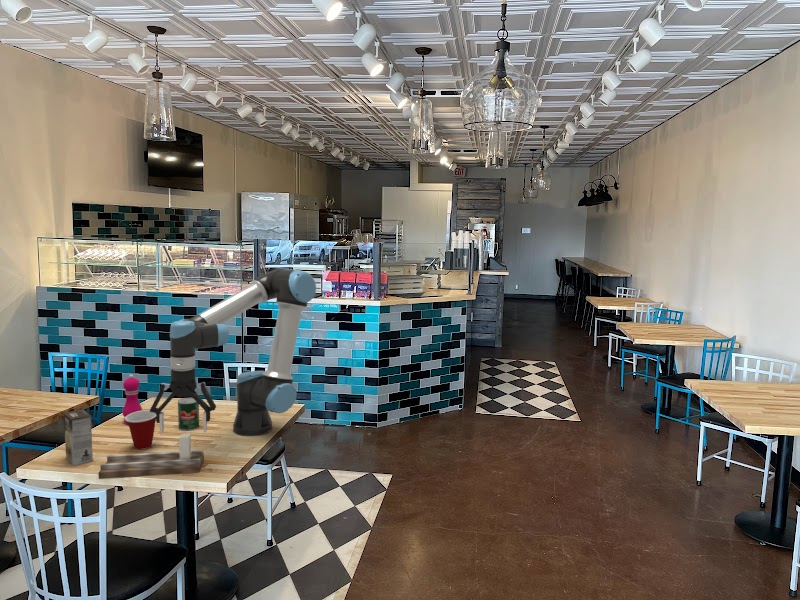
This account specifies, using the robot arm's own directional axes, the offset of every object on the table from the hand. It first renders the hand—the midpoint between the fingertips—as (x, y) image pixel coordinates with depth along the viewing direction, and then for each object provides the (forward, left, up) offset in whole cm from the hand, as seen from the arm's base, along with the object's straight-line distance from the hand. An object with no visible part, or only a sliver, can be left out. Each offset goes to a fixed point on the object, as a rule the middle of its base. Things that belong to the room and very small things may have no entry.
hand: (183, 431), depth 189 cm
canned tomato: (+5, -39, -12) cm, 41 cm away
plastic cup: (+18, -20, -12) cm, 30 cm away
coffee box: (+36, -11, -12) cm, 39 cm away
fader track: (+10, 0, -12) cm, 15 cm away
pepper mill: (+28, -48, -12) cm, 57 cm away
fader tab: (0, 0, -10) cm, 10 cm away
